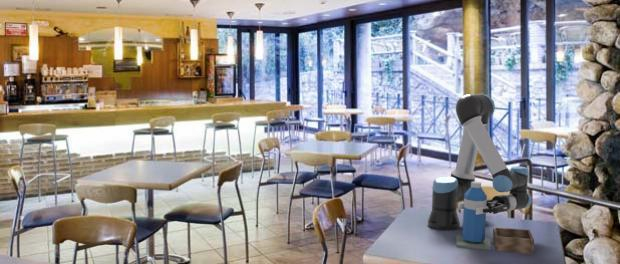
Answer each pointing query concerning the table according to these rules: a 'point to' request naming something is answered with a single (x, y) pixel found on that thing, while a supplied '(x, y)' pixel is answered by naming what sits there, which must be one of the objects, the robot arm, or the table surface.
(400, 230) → the table surface
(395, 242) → the table surface
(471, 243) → the mat
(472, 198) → the water bottle
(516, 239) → the wooden frame
